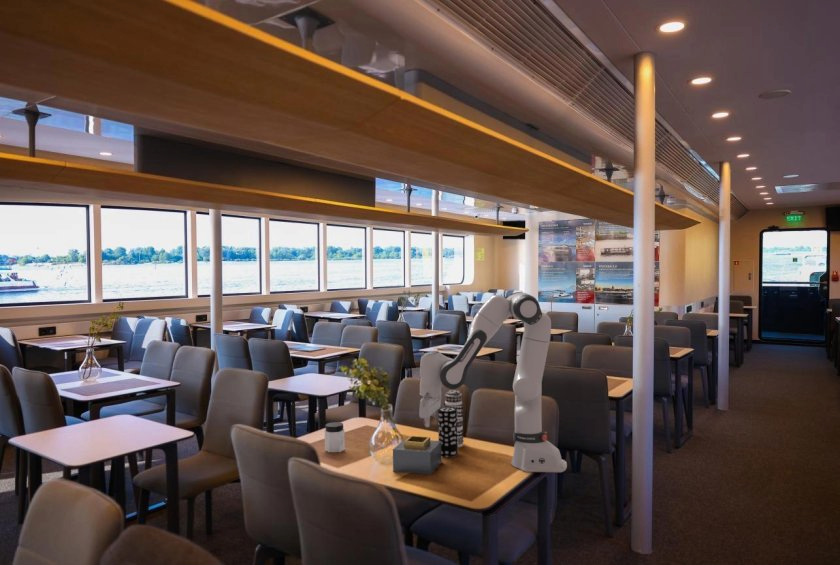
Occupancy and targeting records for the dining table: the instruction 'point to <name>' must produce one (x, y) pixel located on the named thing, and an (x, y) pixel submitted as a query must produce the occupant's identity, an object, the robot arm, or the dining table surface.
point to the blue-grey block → (417, 455)
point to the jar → (334, 437)
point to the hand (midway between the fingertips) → (430, 424)
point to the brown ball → (431, 422)
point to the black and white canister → (456, 402)
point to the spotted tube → (448, 431)
